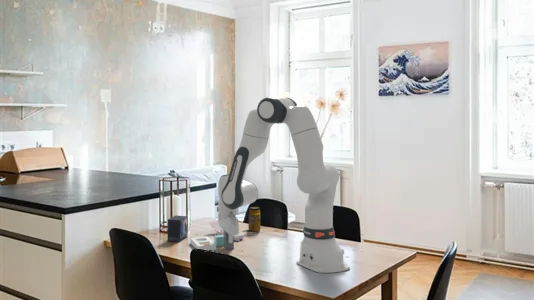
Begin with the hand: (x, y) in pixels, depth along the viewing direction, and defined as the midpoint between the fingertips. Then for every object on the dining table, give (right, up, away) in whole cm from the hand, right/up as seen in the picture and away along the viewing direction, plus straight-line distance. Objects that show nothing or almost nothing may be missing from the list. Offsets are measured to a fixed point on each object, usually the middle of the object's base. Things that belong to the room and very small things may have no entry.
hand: (228, 241), depth 232 cm
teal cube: (-5, -3, +7) cm, 9 cm away
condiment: (+10, -1, +35) cm, 36 cm away
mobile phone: (-2, -2, +23) cm, 23 cm away
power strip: (-12, -3, +3) cm, 13 cm away
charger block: (0, -3, 0) cm, 3 cm away
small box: (-25, -2, +18) cm, 31 cm away
